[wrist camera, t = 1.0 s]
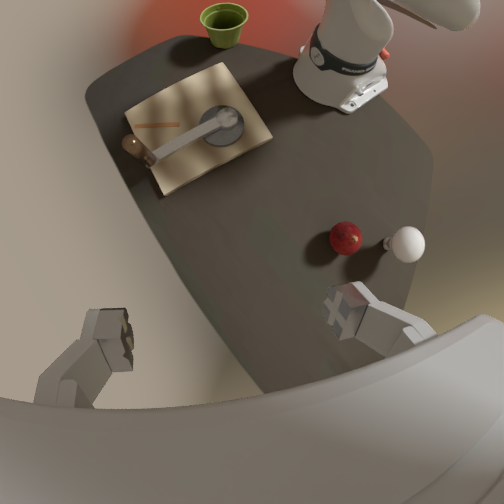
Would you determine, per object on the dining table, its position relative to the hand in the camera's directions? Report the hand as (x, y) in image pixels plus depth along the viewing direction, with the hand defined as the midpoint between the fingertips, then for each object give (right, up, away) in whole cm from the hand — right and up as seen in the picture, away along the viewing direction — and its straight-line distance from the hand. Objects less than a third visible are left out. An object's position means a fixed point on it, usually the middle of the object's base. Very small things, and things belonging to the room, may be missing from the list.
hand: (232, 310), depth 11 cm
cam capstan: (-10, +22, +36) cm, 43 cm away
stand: (-10, +26, +37) cm, 47 cm away
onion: (+17, +5, +40) cm, 43 cm away
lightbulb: (+28, +4, +40) cm, 49 cm away
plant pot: (-5, +49, +37) cm, 61 cm away
